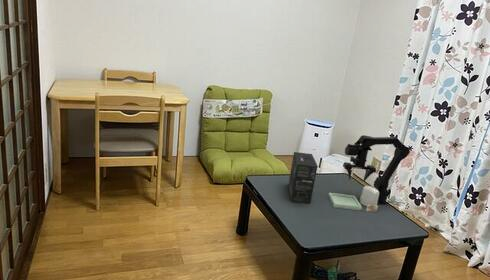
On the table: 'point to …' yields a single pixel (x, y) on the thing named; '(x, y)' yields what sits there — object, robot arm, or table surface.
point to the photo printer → (369, 196)
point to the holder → (370, 207)
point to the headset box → (302, 177)
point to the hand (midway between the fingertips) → (356, 180)
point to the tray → (344, 201)
